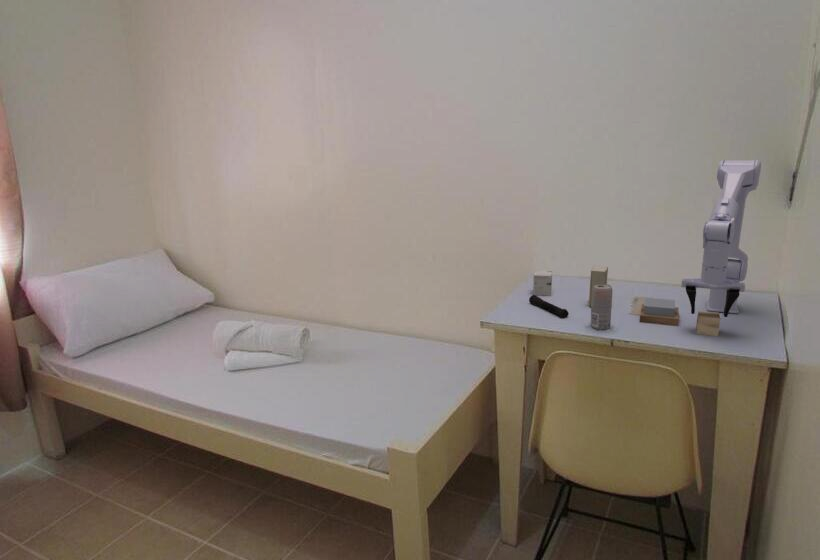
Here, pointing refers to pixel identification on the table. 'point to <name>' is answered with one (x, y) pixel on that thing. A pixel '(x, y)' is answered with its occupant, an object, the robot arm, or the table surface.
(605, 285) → the energy drink
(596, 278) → the skincare box
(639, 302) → the grooming comb
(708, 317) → the beech cube
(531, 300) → the flashlight
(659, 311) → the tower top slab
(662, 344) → the table surface
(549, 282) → the skincare box
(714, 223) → the robot arm
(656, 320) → the tower base slab
